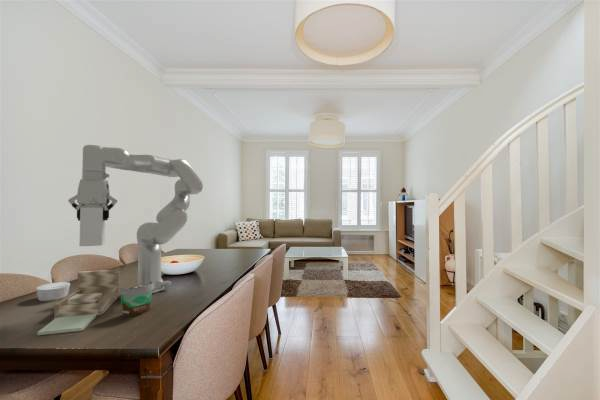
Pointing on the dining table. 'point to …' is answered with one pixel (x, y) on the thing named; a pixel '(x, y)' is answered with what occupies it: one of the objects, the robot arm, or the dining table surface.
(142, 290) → the food container
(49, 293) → the ramekin
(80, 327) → the sage board
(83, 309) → the birch rack
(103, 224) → the milk carton
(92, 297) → the offcut stack
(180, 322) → the dining table surface
